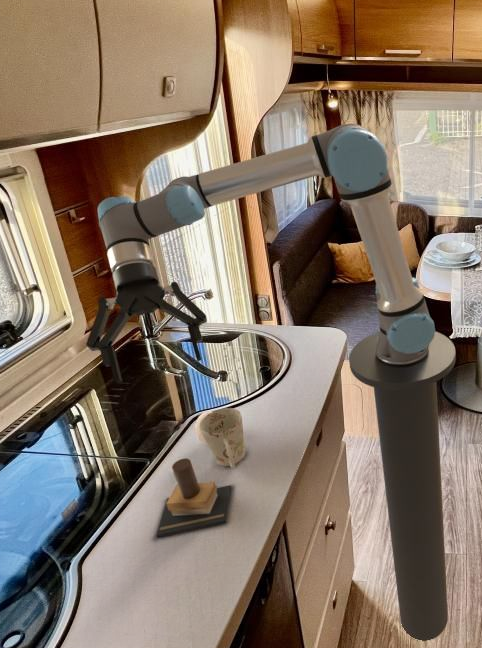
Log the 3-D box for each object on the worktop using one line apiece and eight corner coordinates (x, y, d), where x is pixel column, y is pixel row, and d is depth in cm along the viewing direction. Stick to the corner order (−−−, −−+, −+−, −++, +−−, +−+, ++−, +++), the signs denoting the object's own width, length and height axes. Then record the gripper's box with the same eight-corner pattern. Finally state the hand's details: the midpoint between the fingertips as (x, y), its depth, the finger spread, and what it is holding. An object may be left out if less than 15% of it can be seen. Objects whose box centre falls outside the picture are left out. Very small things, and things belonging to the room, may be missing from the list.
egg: (233, 440, 114) (225, 412, 110) (205, 454, 110) (196, 426, 107) (222, 428, 118) (214, 400, 115) (195, 441, 114) (186, 413, 111)
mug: (245, 438, 114) (236, 403, 110) (260, 471, 105) (250, 434, 100) (207, 453, 110) (196, 417, 106) (219, 489, 101) (207, 451, 96)
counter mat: (231, 487, 101) (230, 484, 101) (225, 522, 93) (225, 520, 93) (168, 500, 99) (167, 497, 98) (156, 537, 91) (155, 535, 91)
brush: (219, 494, 99) (206, 454, 94) (210, 514, 94) (196, 472, 90) (181, 497, 99) (167, 456, 94) (171, 517, 94) (155, 475, 90)
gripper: (203, 265, 107) (230, 355, 101) (65, 293, 96) (87, 395, 91) (199, 248, 100) (228, 344, 95) (51, 276, 90) (75, 386, 84)
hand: (159, 369), depth 93 cm, fingers open, 13 cm apart
